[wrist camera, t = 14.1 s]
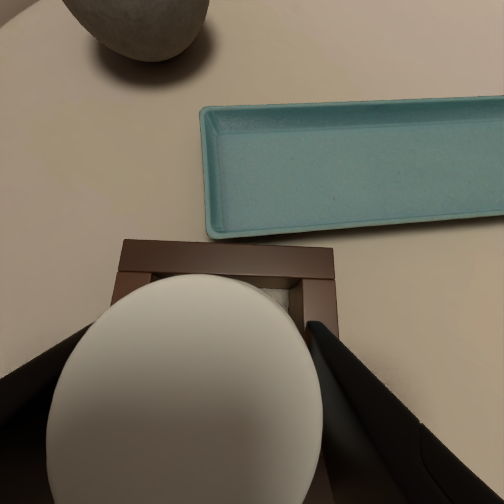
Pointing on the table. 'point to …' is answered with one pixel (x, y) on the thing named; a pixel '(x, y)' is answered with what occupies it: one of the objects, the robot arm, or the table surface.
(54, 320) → the table surface
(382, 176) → the rectangular tray
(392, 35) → the table surface
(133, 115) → the table surface
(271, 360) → the white rounded container
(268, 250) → the holder
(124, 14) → the decorative ball
